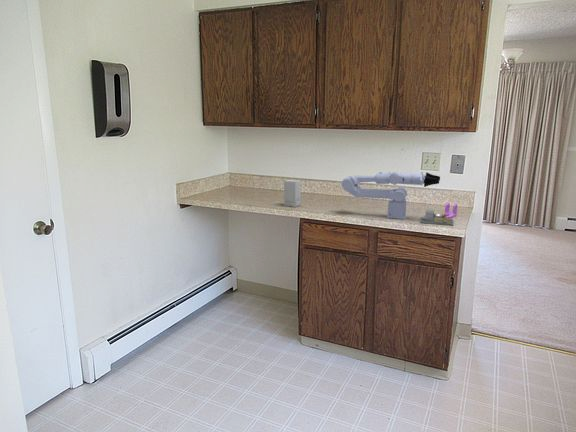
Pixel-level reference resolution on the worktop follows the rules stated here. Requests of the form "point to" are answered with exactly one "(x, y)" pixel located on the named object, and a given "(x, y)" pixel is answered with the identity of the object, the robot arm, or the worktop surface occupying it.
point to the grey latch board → (437, 222)
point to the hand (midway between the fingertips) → (439, 180)
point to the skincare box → (292, 193)
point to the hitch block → (429, 215)
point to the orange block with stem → (439, 215)
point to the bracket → (449, 214)
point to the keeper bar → (443, 219)
